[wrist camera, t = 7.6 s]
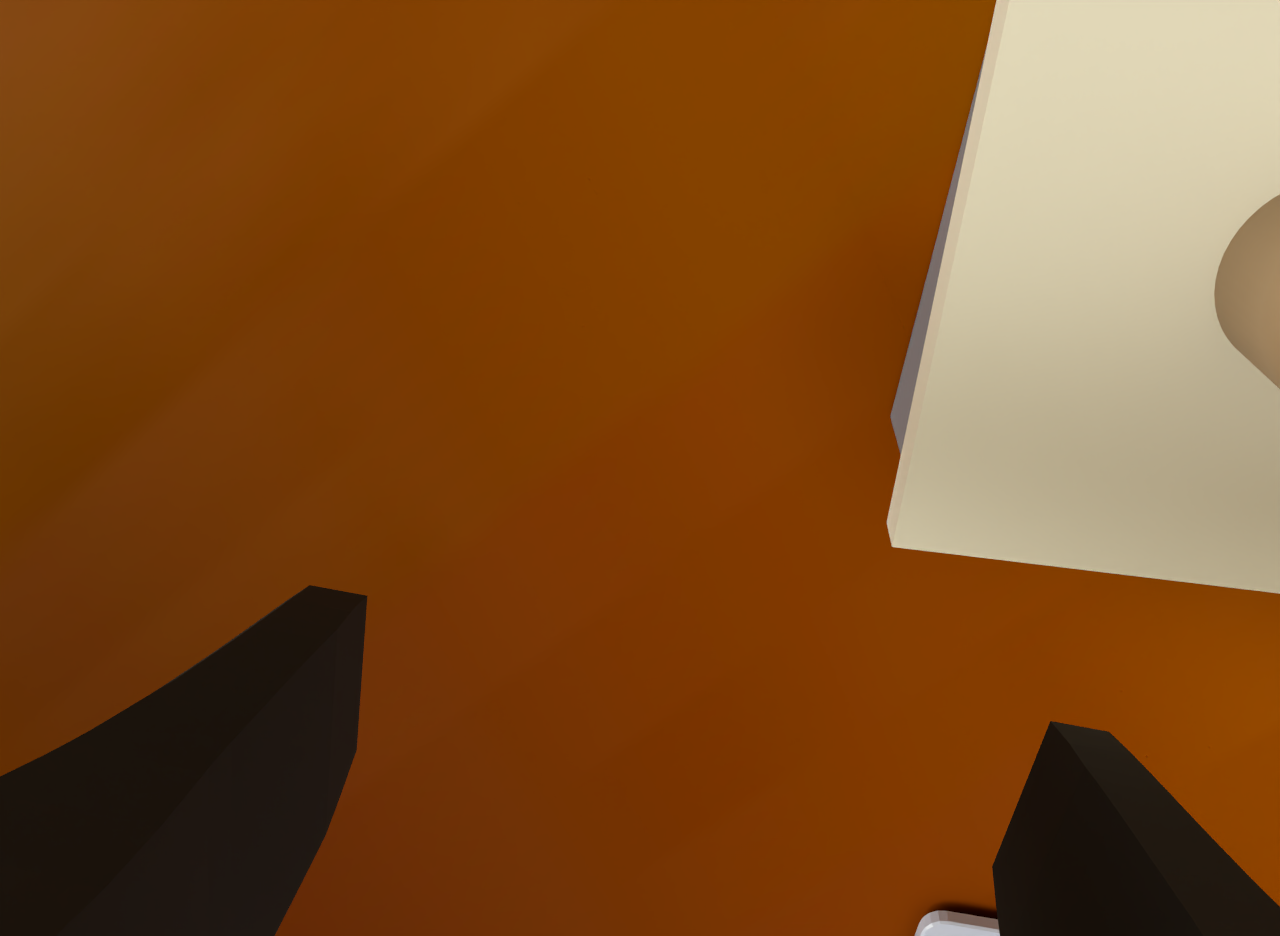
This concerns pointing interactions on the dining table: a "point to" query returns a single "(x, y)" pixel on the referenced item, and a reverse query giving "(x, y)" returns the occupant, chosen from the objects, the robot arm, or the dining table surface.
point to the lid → (1110, 301)
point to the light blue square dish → (926, 305)
